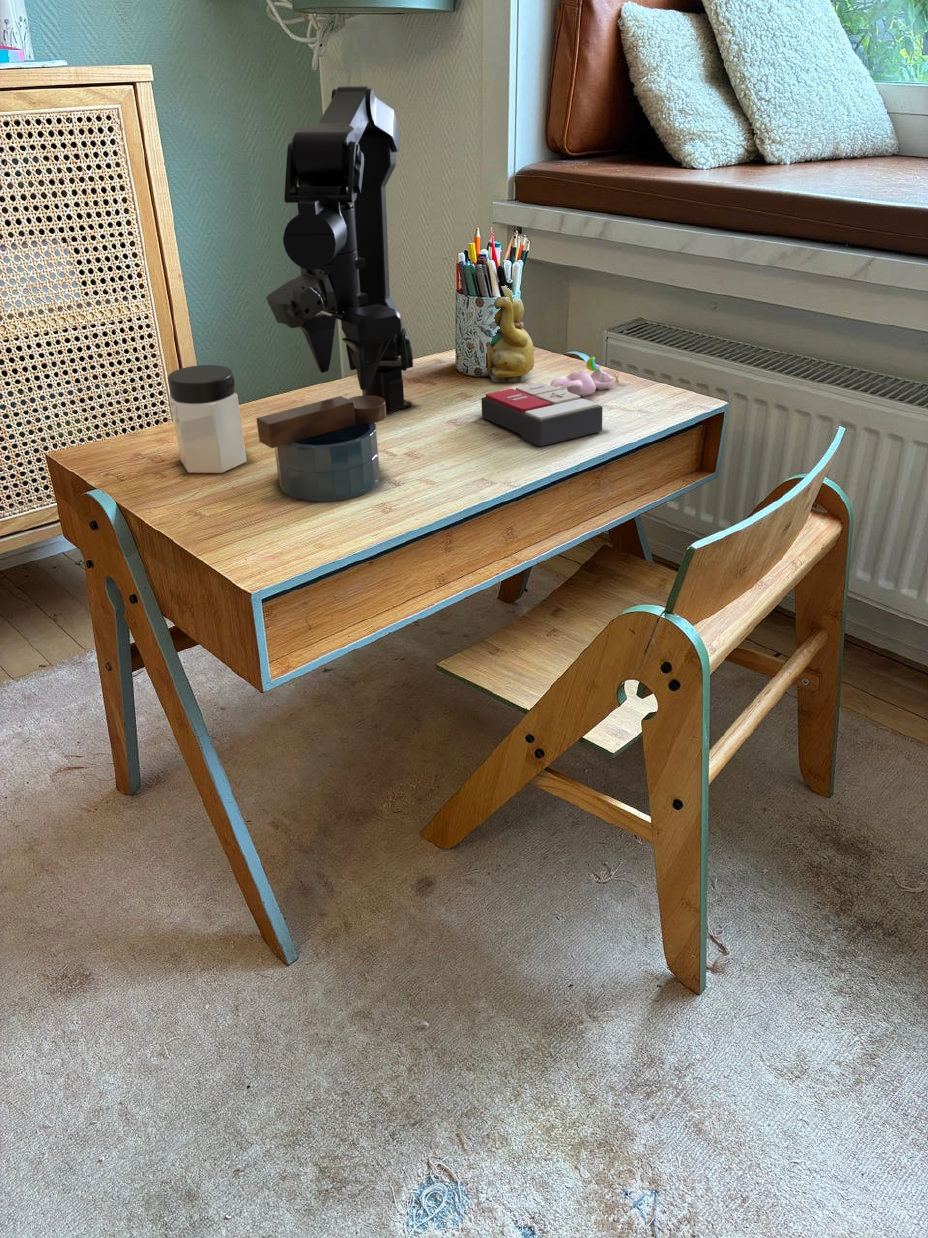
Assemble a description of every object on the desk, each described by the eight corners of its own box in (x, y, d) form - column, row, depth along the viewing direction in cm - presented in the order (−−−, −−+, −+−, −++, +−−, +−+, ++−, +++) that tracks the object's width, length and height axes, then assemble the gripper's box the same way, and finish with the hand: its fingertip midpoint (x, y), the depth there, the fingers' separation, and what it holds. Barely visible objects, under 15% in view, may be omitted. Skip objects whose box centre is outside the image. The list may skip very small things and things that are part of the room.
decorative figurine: (477, 370, 164) (476, 277, 156) (525, 366, 166) (526, 273, 158) (492, 387, 156) (492, 290, 148) (542, 383, 158) (544, 286, 150)
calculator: (541, 379, 147) (604, 400, 136) (542, 407, 149) (603, 431, 138) (479, 392, 142) (538, 416, 131) (480, 421, 145) (539, 447, 133)
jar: (253, 467, 129) (240, 378, 123) (191, 479, 126) (175, 388, 120) (235, 446, 136) (223, 360, 130) (176, 456, 133) (160, 369, 127)
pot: (261, 479, 126) (254, 427, 122) (343, 455, 132) (339, 404, 129) (314, 510, 117) (308, 455, 114) (399, 482, 124) (396, 429, 120)
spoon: (276, 451, 115) (273, 426, 113) (254, 439, 118) (251, 415, 117) (394, 417, 124) (393, 394, 123) (370, 407, 128) (369, 384, 126)
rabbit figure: (593, 388, 159) (536, 396, 148) (598, 350, 157) (541, 356, 146) (625, 396, 155) (569, 405, 145) (631, 357, 153) (575, 364, 142)
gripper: (232, 248, 117) (250, 377, 125) (316, 274, 104) (330, 415, 112) (312, 234, 122) (324, 358, 131) (401, 258, 110) (408, 393, 118)
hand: (344, 380), depth 123 cm, fingers open, 9 cm apart
